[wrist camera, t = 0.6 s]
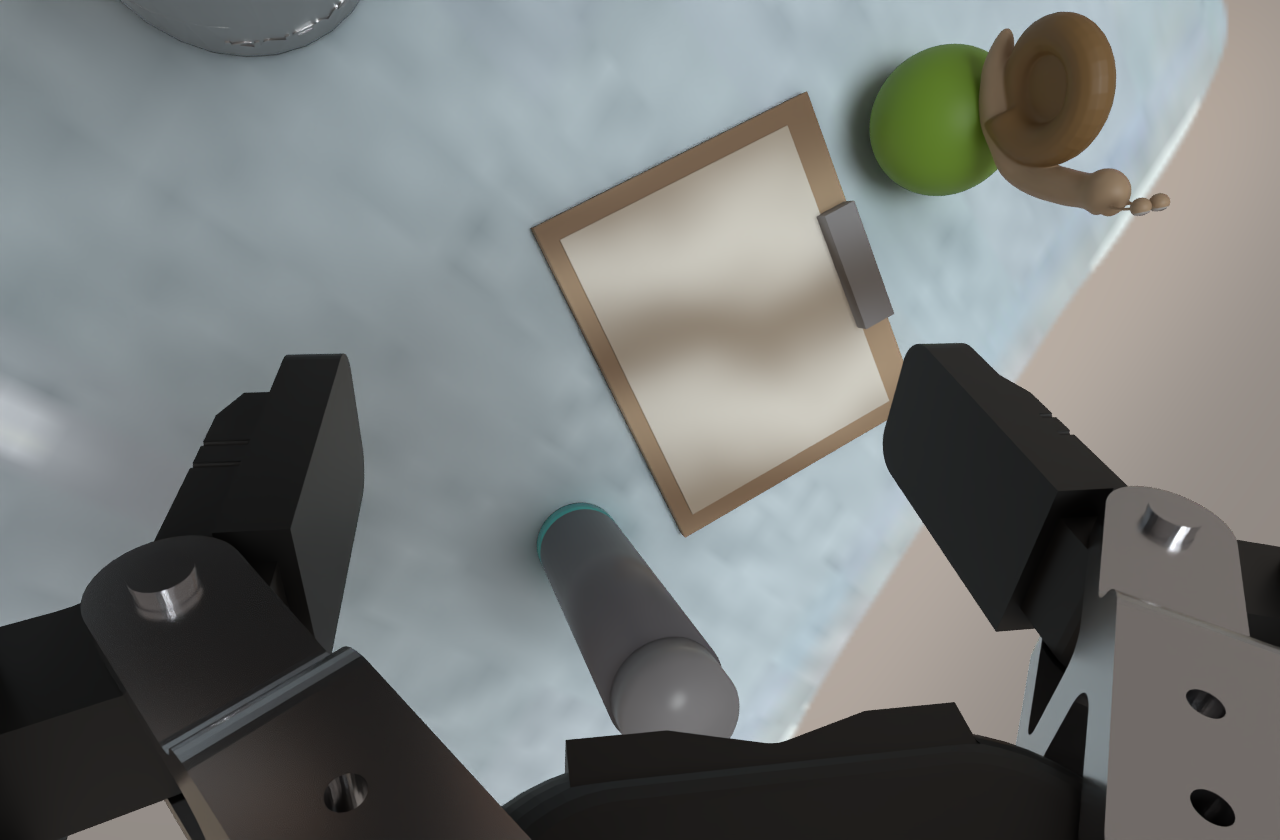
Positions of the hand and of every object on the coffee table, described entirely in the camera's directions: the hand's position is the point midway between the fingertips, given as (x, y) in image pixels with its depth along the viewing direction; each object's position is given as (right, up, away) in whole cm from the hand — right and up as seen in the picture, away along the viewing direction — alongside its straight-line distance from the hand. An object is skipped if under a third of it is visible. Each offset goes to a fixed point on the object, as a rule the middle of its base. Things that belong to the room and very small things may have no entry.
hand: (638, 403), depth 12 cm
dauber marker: (-3, -5, +22) cm, 22 cm away
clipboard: (+4, +4, +22) cm, 22 cm away
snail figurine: (+11, +11, +22) cm, 27 cm away
